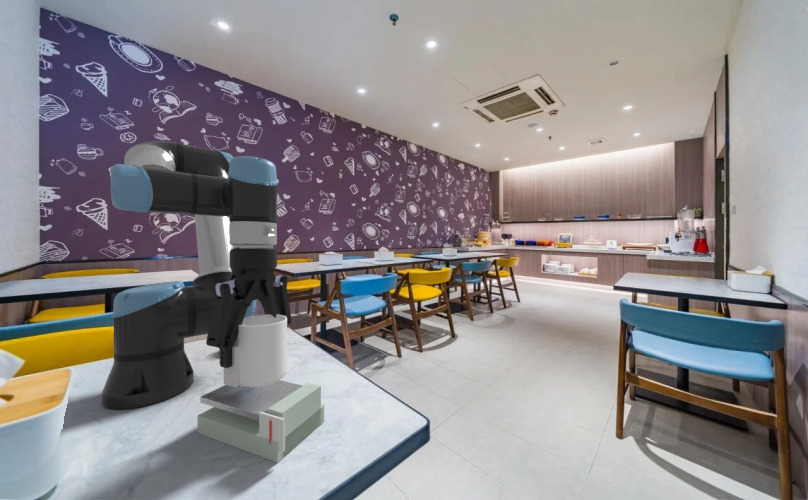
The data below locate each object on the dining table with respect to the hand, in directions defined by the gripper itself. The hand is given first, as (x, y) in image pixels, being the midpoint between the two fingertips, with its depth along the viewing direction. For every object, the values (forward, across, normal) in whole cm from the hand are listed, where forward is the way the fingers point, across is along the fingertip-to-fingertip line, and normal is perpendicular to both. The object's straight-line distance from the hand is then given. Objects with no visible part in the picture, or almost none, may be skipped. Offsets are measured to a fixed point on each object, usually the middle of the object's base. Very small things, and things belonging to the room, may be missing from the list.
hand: (254, 373), depth 52 cm
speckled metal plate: (+6, 0, 0) cm, 6 cm away
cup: (0, 0, 0) cm, 1 cm away
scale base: (+9, 0, -2) cm, 9 cm away
